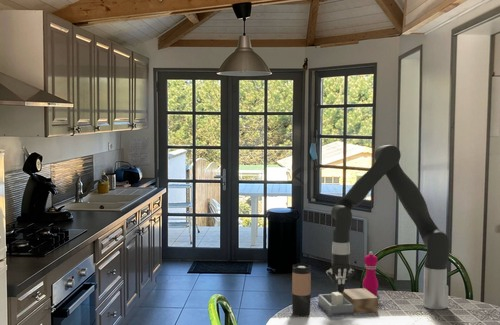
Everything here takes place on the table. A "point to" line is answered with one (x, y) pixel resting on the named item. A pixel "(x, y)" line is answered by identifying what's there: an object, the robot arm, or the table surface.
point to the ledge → (361, 300)
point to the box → (333, 310)
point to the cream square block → (337, 298)
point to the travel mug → (301, 289)
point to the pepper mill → (370, 273)
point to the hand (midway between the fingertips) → (340, 292)
